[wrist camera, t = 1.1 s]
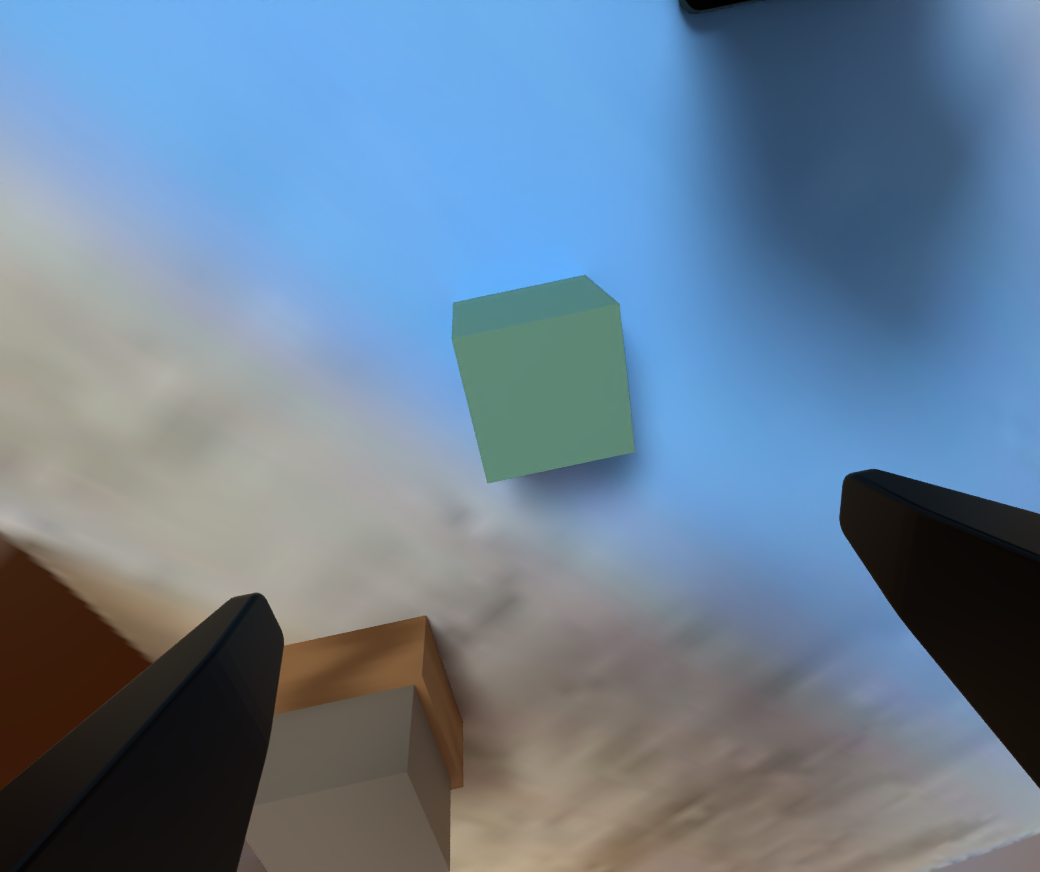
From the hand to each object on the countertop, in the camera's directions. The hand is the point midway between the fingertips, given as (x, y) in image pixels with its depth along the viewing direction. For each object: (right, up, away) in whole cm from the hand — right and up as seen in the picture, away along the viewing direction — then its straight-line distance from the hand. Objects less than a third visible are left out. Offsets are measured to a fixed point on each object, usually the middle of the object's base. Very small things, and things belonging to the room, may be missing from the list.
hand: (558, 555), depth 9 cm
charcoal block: (-7, -11, +14) cm, 19 cm away
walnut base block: (-8, -10, +17) cm, 21 cm away
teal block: (0, +5, +11) cm, 12 cm away
